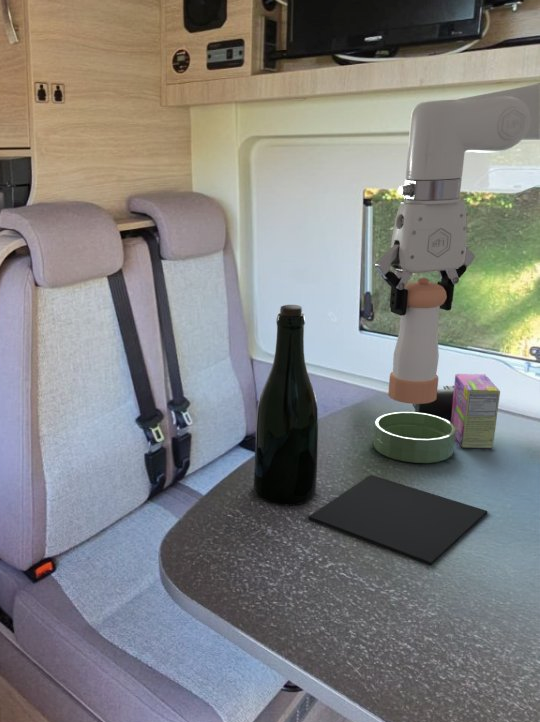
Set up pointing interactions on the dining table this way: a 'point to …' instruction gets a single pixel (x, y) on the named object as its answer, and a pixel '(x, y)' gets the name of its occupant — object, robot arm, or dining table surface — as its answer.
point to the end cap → (438, 404)
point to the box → (475, 410)
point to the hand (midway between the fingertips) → (420, 310)
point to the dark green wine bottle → (287, 420)
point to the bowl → (414, 437)
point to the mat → (400, 518)
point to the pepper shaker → (417, 345)
